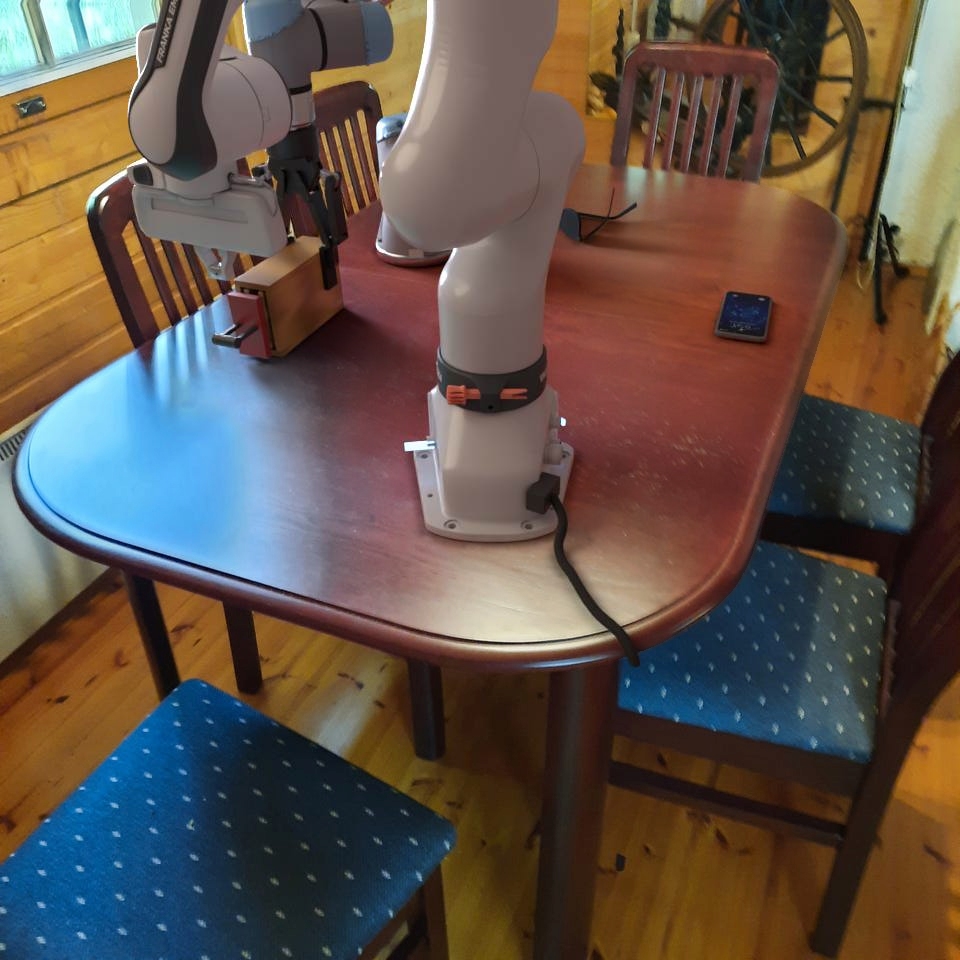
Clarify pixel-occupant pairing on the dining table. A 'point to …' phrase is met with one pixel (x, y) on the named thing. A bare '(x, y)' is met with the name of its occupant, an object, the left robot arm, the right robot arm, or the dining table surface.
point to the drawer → (248, 324)
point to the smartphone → (744, 316)
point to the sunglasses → (572, 221)
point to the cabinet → (294, 292)
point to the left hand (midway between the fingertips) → (312, 283)
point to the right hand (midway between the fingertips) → (221, 277)
